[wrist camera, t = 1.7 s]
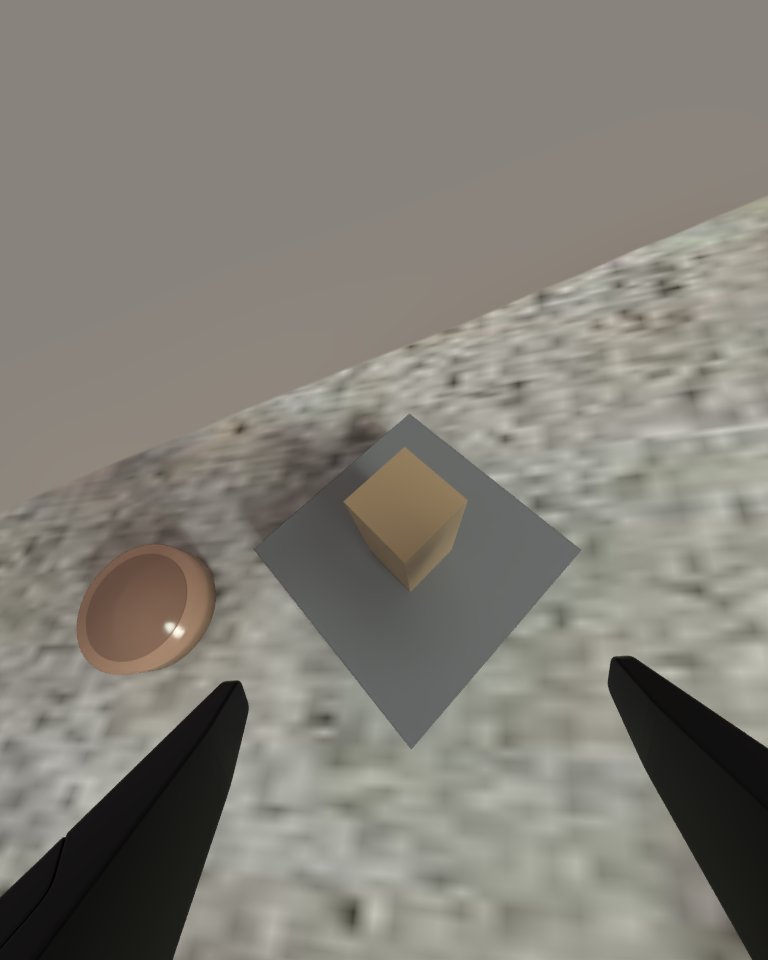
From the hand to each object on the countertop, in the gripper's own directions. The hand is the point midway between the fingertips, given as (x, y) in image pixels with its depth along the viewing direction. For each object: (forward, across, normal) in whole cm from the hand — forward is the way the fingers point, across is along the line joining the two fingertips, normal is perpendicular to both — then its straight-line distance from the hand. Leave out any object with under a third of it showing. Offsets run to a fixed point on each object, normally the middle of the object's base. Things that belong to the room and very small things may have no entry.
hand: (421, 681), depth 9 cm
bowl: (+12, +16, +6) cm, 21 cm away
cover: (+13, 0, +5) cm, 14 cm away
